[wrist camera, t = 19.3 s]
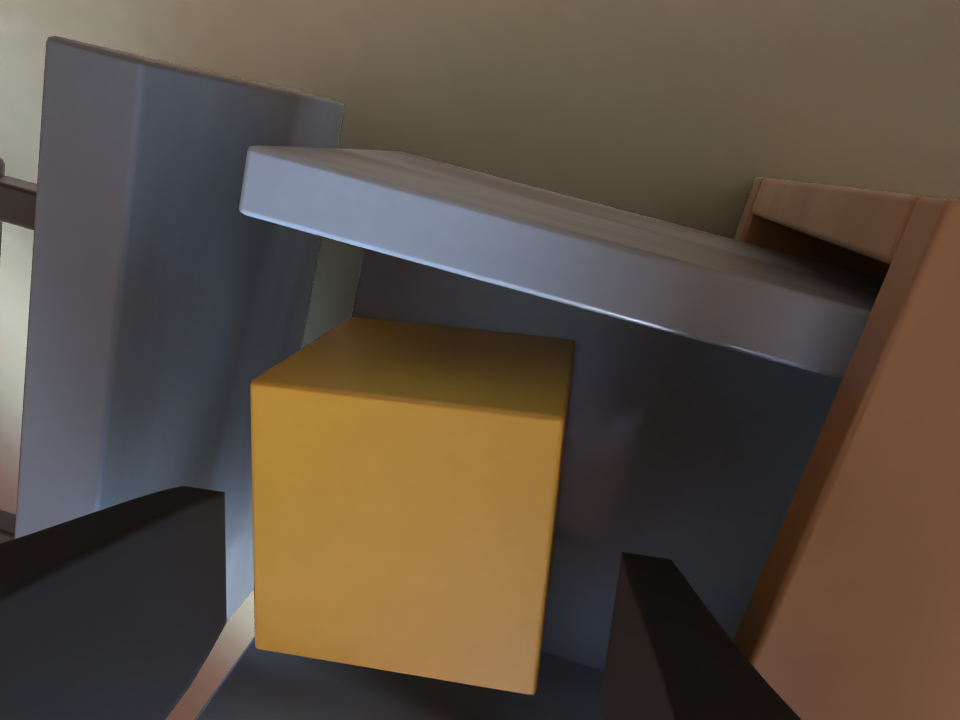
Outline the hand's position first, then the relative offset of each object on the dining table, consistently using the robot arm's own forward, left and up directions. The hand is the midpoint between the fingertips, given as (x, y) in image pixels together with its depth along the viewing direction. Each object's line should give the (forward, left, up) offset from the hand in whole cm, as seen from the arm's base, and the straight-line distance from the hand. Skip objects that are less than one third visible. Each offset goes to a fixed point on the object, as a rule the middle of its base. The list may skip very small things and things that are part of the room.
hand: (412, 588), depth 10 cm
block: (0, 0, -5) cm, 5 cm away
